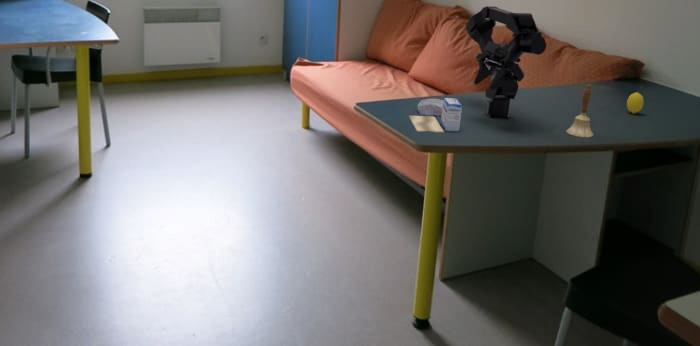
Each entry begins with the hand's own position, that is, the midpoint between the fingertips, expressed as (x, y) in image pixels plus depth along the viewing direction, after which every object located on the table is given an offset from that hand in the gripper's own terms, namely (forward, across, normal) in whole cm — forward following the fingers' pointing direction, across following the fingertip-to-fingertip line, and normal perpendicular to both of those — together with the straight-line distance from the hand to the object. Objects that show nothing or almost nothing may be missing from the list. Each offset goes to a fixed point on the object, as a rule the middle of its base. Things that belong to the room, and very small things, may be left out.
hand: (482, 86), depth 231 cm
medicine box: (+17, 0, +1) cm, 17 cm away
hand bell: (-10, +18, +28) cm, 35 cm away
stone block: (+13, -19, +6) cm, 23 cm away
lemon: (-38, +5, +56) cm, 68 cm away
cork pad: (+21, -5, -3) cm, 22 cm away
